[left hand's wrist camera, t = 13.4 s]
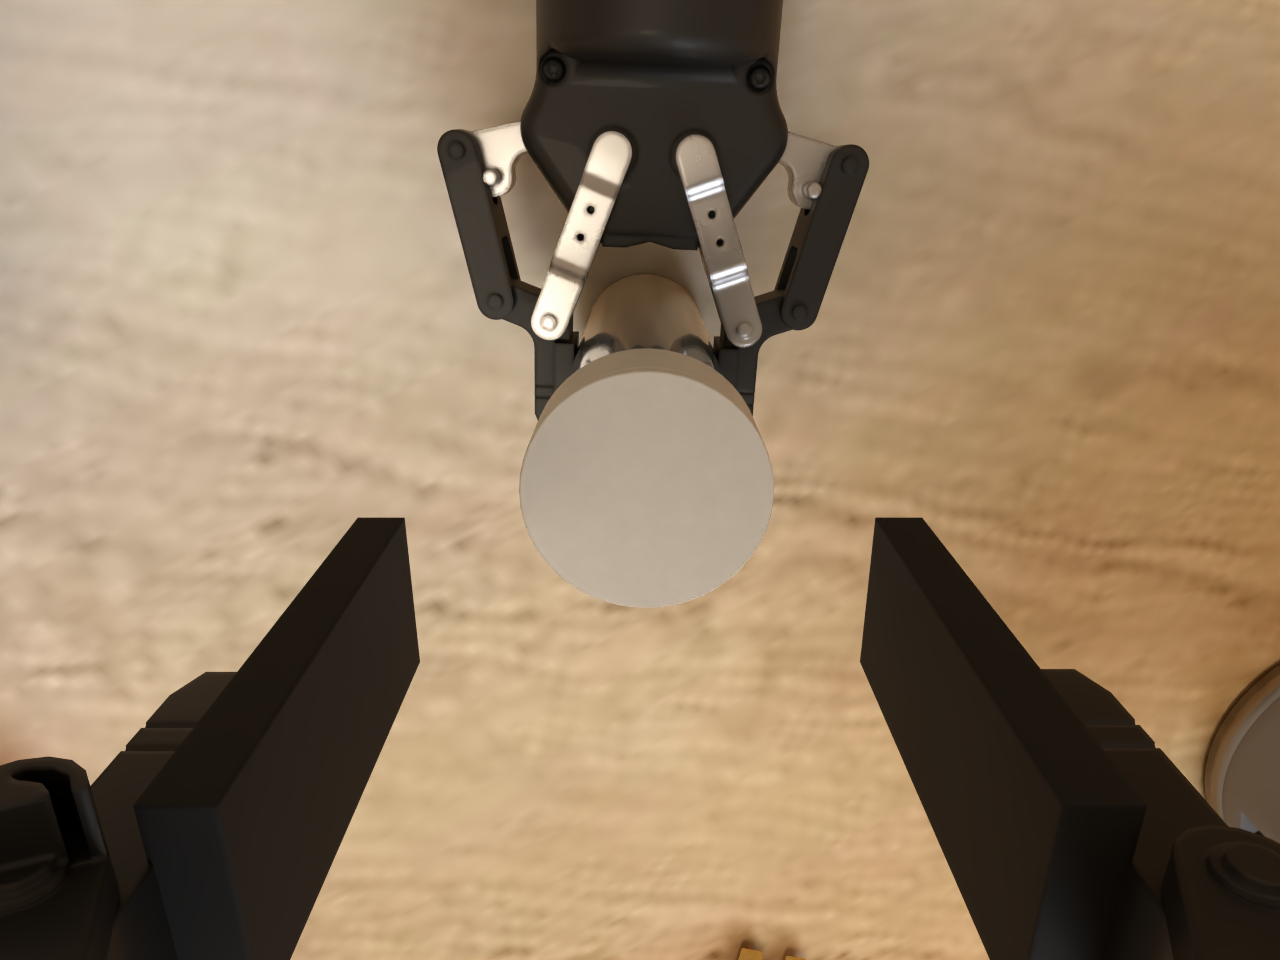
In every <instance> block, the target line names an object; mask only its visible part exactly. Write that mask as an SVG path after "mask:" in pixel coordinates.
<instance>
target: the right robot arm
mask: <svg viewBox="0 0 1280 960" xmlns="http://www.w3.org/2000/svg"><path fill="white" fill-rule="evenodd" d="M782 4H783V0H536V27H537V73H536V81H535V85H534V89H533V92H532V95H531V97H530V100H529V101H528V103H527V105H526V107H525V109H524V111H523V114H522V117H521V121H518V122H514V123H509V124H505V125H500V126H495V127H491V128H486V129H482V130H477V131H472V132H471V131H467V130H461V129H458V130H450V131H447V132H446V133H444V134H443V135H442V136H441V138H440V140H439V142H438V147H437V151H438V156H439V160H440V164H441V167H442V171H443V175H444V179H445V183H446V186H447V190H448V194H449V198H450V202H451V205H452V209H453V213H454V217H455V221H456V224H457V228H458V232H459V236H460V240H461V243H462V247H463V251H464V255H465V259H466V262H467V266H468V270H469V274H470V278H471V281H472V285H473V289H474V293H475V297H476V300H477V304H478V307H479V309H480V311H481V312H482V314H484V315H485V316H486V317H488V318H490V319H494V320H498V319H504V320H506V321H509V322H511V323H514V324H516V325H519V326H521V327H523V328H524V329H525V330H527V331H528V332H529V334H530V335H531V337H532V339H533V341H534V347H535V415H536V417H537V419H538V420H539V418H540V415H541V413H542V412H543V410H544V408H545V406H546V404H547V402H548V401H549V399H550V398H551V396H552V395H553V394H554V392H555V391H556V390H557V389H558V388H559V386H560V385H561V384H562V383H563V382H564V381H565V380H566V379H567V378H568V376H569V373H570V370H571V368H572V365H573V362H574V359H575V356H576V353H577V350H578V346H579V332H573V312H574V309H575V306H576V304H577V301H578V299H579V296H580V294H581V291H582V288H583V286H584V283H585V281H586V278H587V275H588V273H589V270H590V268H591V265H592V263H593V260H594V258H595V255H596V253H597V250H598V247H599V245H600V243H602V246H605V247H629V246H633V245H638V244H642V243H646V242H653V243H656V244H659V245H662V246H665V247H669V248H672V249H682V250H697V247H698V249H699V252H700V255H701V259H702V262H703V265H704V269H705V272H706V275H707V278H708V281H709V284H710V288H711V291H712V294H713V298H714V301H715V305H716V308H717V311H718V315H719V318H720V321H721V332H720V337H716V336H714V346H713V350H714V352H715V355H716V358H717V361H718V363H719V366H720V369H721V371H722V374H723V377H724V378H725V379H726V380H728V381H729V382H730V383H731V384H732V385H733V386H734V388H735V389H736V390H737V391H738V393H739V394H740V395H741V396H742V398H743V399H744V401H745V403H746V405H747V406H748V408H749V410H750V412H751V414H752V417H753V404H754V392H755V382H756V370H757V359H758V352H759V349H760V347H761V345H762V344H763V343H764V341H765V340H767V339H768V338H769V337H771V336H773V335H776V334H779V333H783V332H786V331H789V330H792V329H793V330H803V329H806V328H808V327H809V326H811V325H812V324H813V323H814V321H815V319H816V317H817V314H818V311H819V309H820V306H821V303H822V300H823V297H824V294H825V291H826V289H827V286H828V283H829V280H830V277H831V274H832V271H833V269H834V266H835V263H836V260H837V257H838V254H839V251H840V249H841V246H842V243H843V240H844V237H845V234H846V231H847V229H848V226H849V223H850V220H851V217H852V214H853V211H854V209H855V206H856V203H857V200H858V197H859V194H860V191H861V188H862V186H863V183H864V180H865V177H866V174H867V171H868V168H869V159H868V156H867V153H866V152H865V151H864V149H862V148H861V147H859V146H857V145H840V146H833V145H829V144H826V143H823V142H820V141H816V140H813V139H810V138H806V137H803V136H800V135H797V134H793V133H790V132H788V128H787V124H786V120H785V118H784V116H783V113H782V111H781V109H780V106H779V102H778V98H777V91H776V75H777V63H778V51H779V40H780V28H781V16H782ZM527 152H528V153H529V155H530V156H531V158H532V159H533V161H534V162H535V164H536V165H537V167H538V168H539V170H540V171H541V173H542V174H543V176H544V177H545V179H546V180H547V182H548V183H549V185H550V186H551V188H552V189H553V191H554V192H555V194H556V195H557V197H558V198H559V200H560V201H561V203H562V204H563V206H564V207H565V209H566V210H567V212H568V213H569V214H568V217H567V219H566V222H565V225H564V228H563V230H562V233H561V236H560V238H559V241H558V244H557V247H556V249H555V252H554V255H553V258H552V261H551V264H550V268H549V271H548V274H547V276H546V279H545V282H544V284H543V287H542V289H540V288H537V287H535V286H533V285H530V284H528V283H525V282H523V281H521V280H520V275H519V271H518V267H517V263H516V259H515V255H514V251H513V247H512V242H511V238H510V234H509V230H508V226H507V222H506V218H505V214H504V210H503V205H502V201H501V197H500V196H501V195H505V194H507V193H508V192H510V191H511V190H512V188H513V187H514V185H515V181H516V173H515V167H516V164H517V161H518V160H519V158H520V157H521V156H522V155H523V154H525V153H527ZM778 162H779V163H780V164H782V165H783V166H784V167H785V169H786V170H787V173H788V177H789V183H788V196H789V198H790V200H791V201H792V203H793V204H795V205H796V206H798V207H801V210H800V213H799V216H798V219H797V222H796V225H795V228H794V231H793V234H792V237H791V240H790V244H789V247H788V250H787V253H786V256H785V259H784V262H783V265H782V268H781V271H780V274H779V277H778V280H777V283H776V286H775V289H774V291H771V292H768V293H765V294H762V295H759V296H756V297H754V295H753V292H752V288H751V285H750V281H749V277H748V271H747V266H746V262H745V259H744V255H743V252H742V248H741V244H740V241H739V237H738V234H737V230H736V227H735V223H734V218H735V217H736V215H737V214H738V213H739V211H740V210H741V209H742V208H743V206H744V205H745V204H746V203H747V201H748V200H749V199H750V198H751V196H752V195H753V194H754V192H755V191H756V190H757V189H758V187H759V186H760V185H761V184H762V182H763V181H764V180H765V179H766V177H767V176H768V175H769V173H770V172H771V171H772V170H773V168H774V167H775V166H776V165H777V163H778Z"/></svg>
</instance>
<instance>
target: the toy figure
mask: <svg viewBox="0 0 1280 960" xmlns="http://www.w3.org/2000/svg"><path fill="white" fill-rule="evenodd" d="M738 960H763V956H762V951H757V950H751V949H745V948H742V949H741V953H740V956H739V959H738ZM785 960H805V959H804V958H798V957H792V956H786V958H785Z"/></svg>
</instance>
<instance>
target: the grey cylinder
mask: <svg viewBox="0 0 1280 960" xmlns="http://www.w3.org/2000/svg"><path fill="white" fill-rule="evenodd" d="M647 348H652V349H662V350H669V351H673V352H677V353H681V354H684V355H687V356H689V357H692V358H695V359H697V360H699V361H701V362H703V363H704V364H706V365H708V366H710V367H711V368H713V369H714V370H715V371H717V372H718V373H720V374H721V375H722V376H723V374H722V371H721V369H720V366H719V363H718V361H717V358H716V355H715V352H714V350H713V347H712V344H711V342H710V339H709V336H708V334H707V331H706V328H705V325H704V323H703V320H702V317H701V315H700V312H699V310H698V307H697V305H696V303H695V302H694V300H693V298H692V297H691V296H690V295H689V293H688V292H687V291H686V290H685V289H684V288H682V287H681V286H680V285H678V284H677V283H675V282H674V281H672V280H670V279H668V278H665V277H662V276H658V275H653V274H637V275H632V276H628V277H625V278H623V279H621V280H618V281H617V282H615V283H613V284H612V285H610V286H609V287H608V288H607V289H606V290H605V291H604V292H603V293H602V294H601V295H600V296H599V298H598V299H597V301H596V302H595V304H594V306H593V308H592V310H591V313H590V316H589V319H588V322H587V325H586V327H585V330H584V333H583V336H582V339H581V342H580V345H579V347H578V350H577V353H576V356H575V359H574V362H573V365H572V368H571V370H570V373H569V376H568V377H570V376H571V375H572V374H573V373H575V372H576V371H577V370H579V369H580V368H582V367H583V366H585V365H587V364H588V363H590V362H592V361H594V360H596V359H599V358H601V357H603V356H606V355H609V354H612V353H616V352H619V351H625V350H631V349H647Z"/></svg>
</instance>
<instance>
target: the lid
mask: <svg viewBox="0 0 1280 960" xmlns="http://www.w3.org/2000/svg"><path fill="white" fill-rule="evenodd" d="M519 493H520V505H521V510H522V515H523V519H524V523H525V525H526V528H527V530H528V533H529V536H530V538H531V539H532V541H533V543H534V545H535V547H536V549H537V550H538V552H539V553H540V554H541V556H542V557H543V558H544V560H545V561H546V562H547V563H548V564H549V566H550V567H551V568H552V569H553V570H554V571H555V572H556V573H557V574H558V575H560V576H561V577H562V578H563V579H564V580H566V581H567V582H568V583H569V584H571V585H573V586H574V587H576V588H577V589H579V590H581V591H582V592H584V593H586V594H589V595H591V596H593V597H595V598H597V599H600V600H603V601H606V602H609V603H613V604H618V605H623V606H628V607H640V608H651V607H664V606H671V605H676V604H680V603H683V602H687V601H690V600H693V599H695V598H698V597H700V596H703V595H705V594H707V593H709V592H710V591H712V590H714V589H716V588H718V587H719V586H720V585H722V584H723V583H725V582H726V581H727V580H729V579H730V578H731V577H732V576H733V575H735V574H736V573H737V572H738V571H739V570H740V569H741V568H742V567H743V566H744V565H745V563H746V562H747V561H748V560H749V559H750V557H751V556H752V555H753V553H754V552H755V550H756V548H757V547H758V545H759V544H760V542H761V540H762V538H763V535H764V533H765V531H766V529H767V526H768V522H769V519H770V516H771V511H772V505H773V499H774V481H773V472H772V466H771V462H770V459H769V455H768V452H767V449H766V447H765V445H764V442H763V440H762V438H761V435H760V433H759V431H758V428H757V426H756V424H755V421H754V419H753V417H752V414H751V412H750V410H749V408H748V406H747V405H746V403H745V401H744V399H743V398H742V396H741V395H740V394H739V393H738V391H737V390H736V389H735V388H734V386H733V385H732V384H731V383H730V382H729V381H728V380H726V379H725V378H724V377H723V376H722V375H721V374H720V373H718V372H717V371H715V370H714V369H713V368H711V367H710V366H708V365H706V364H704V363H703V362H701V361H699V360H697V359H695V358H692V357H689V356H687V355H684V354H681V353H677V352H673V351H669V350H662V349H652V348H647V349H631V350H625V351H619V352H616V353H612V354H609V355H606V356H603V357H601V358H599V359H596V360H594V361H592V362H590V363H588V364H587V365H585V366H583V367H582V368H580V369H579V370H577V371H576V372H575V373H573V374H572V375H571V376H570V377H568V378H567V379H566V380H565V381H564V382H563V383H562V384H561V385H560V386H559V388H558V389H557V390H556V391H555V392H554V394H553V395H552V396H551V398H550V399H549V401H548V402H547V404H546V406H545V408H544V410H543V412H542V413H541V415H540V418H539V420H538V423H537V425H536V428H535V430H534V433H533V435H532V437H531V440H530V442H529V445H528V448H527V451H526V453H525V456H524V459H523V464H522V469H521V474H520V488H519Z"/></svg>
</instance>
